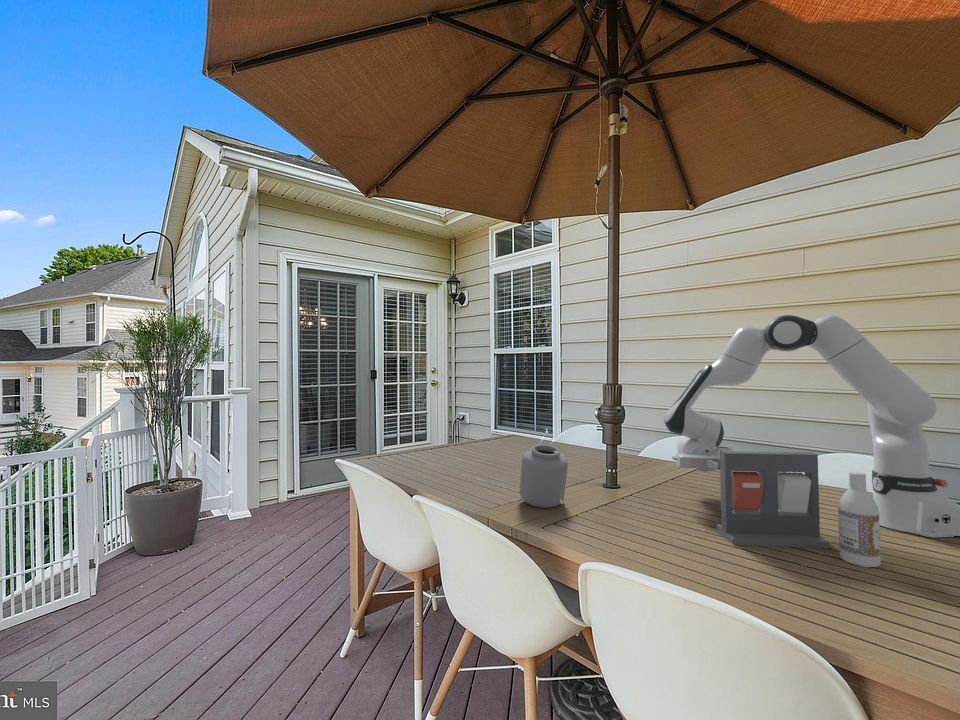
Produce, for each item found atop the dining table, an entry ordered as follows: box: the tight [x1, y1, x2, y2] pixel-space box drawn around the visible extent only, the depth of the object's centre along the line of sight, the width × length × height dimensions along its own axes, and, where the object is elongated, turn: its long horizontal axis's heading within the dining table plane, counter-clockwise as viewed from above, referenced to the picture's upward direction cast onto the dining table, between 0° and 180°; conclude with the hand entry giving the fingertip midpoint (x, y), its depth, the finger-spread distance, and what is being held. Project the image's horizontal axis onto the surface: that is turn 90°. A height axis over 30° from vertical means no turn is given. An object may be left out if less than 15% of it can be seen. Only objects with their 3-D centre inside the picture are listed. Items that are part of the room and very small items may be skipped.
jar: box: [519, 428, 569, 509], centre depth 141 cm, size 19×15×25 cm
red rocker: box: [731, 471, 764, 511], centre depth 112 cm, size 6×4×9 cm
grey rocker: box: [777, 472, 811, 513], centre depth 110 cm, size 6×4×9 cm, turn 82°
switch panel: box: [715, 450, 830, 549], centre depth 111 cm, size 22×10×22 cm, turn 82°
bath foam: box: [837, 471, 882, 568], centre depth 98 cm, size 7×7×20 cm
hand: (721, 466), depth 126 cm, fingers closed
